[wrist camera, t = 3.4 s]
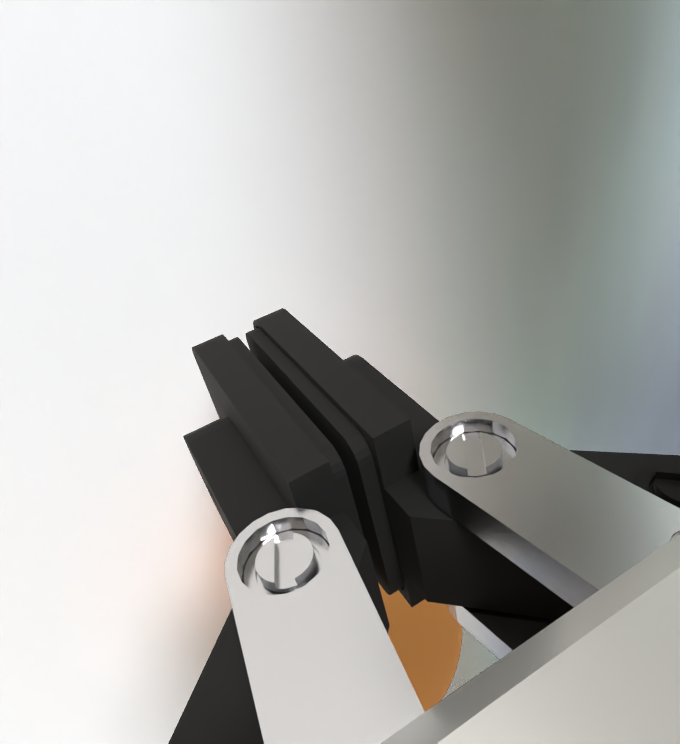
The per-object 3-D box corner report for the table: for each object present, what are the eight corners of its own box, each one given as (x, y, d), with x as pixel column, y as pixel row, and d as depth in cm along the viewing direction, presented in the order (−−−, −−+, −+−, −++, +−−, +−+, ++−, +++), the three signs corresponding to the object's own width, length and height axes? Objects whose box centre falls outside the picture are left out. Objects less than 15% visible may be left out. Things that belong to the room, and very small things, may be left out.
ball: (175, 528, 16) (255, 737, 12) (371, 429, 18) (509, 578, 13) (239, 648, 20) (320, 844, 15) (397, 556, 21) (514, 708, 17)
